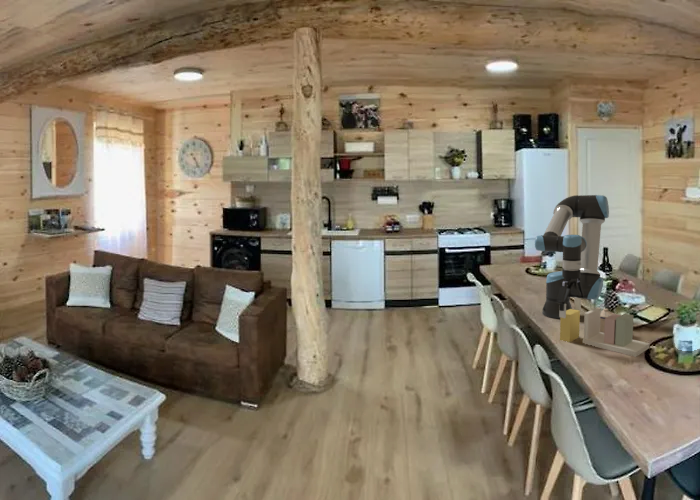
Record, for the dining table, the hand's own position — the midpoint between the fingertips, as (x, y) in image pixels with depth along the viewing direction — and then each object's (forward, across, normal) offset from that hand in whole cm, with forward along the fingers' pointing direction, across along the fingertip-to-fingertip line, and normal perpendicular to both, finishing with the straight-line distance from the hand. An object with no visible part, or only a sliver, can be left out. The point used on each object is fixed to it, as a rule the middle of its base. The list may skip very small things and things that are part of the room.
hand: (570, 314), depth 218 cm
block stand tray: (+12, +6, -18) cm, 22 cm away
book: (+12, +1, 0) cm, 12 cm away
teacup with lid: (+12, +21, -8) cm, 25 cm away
